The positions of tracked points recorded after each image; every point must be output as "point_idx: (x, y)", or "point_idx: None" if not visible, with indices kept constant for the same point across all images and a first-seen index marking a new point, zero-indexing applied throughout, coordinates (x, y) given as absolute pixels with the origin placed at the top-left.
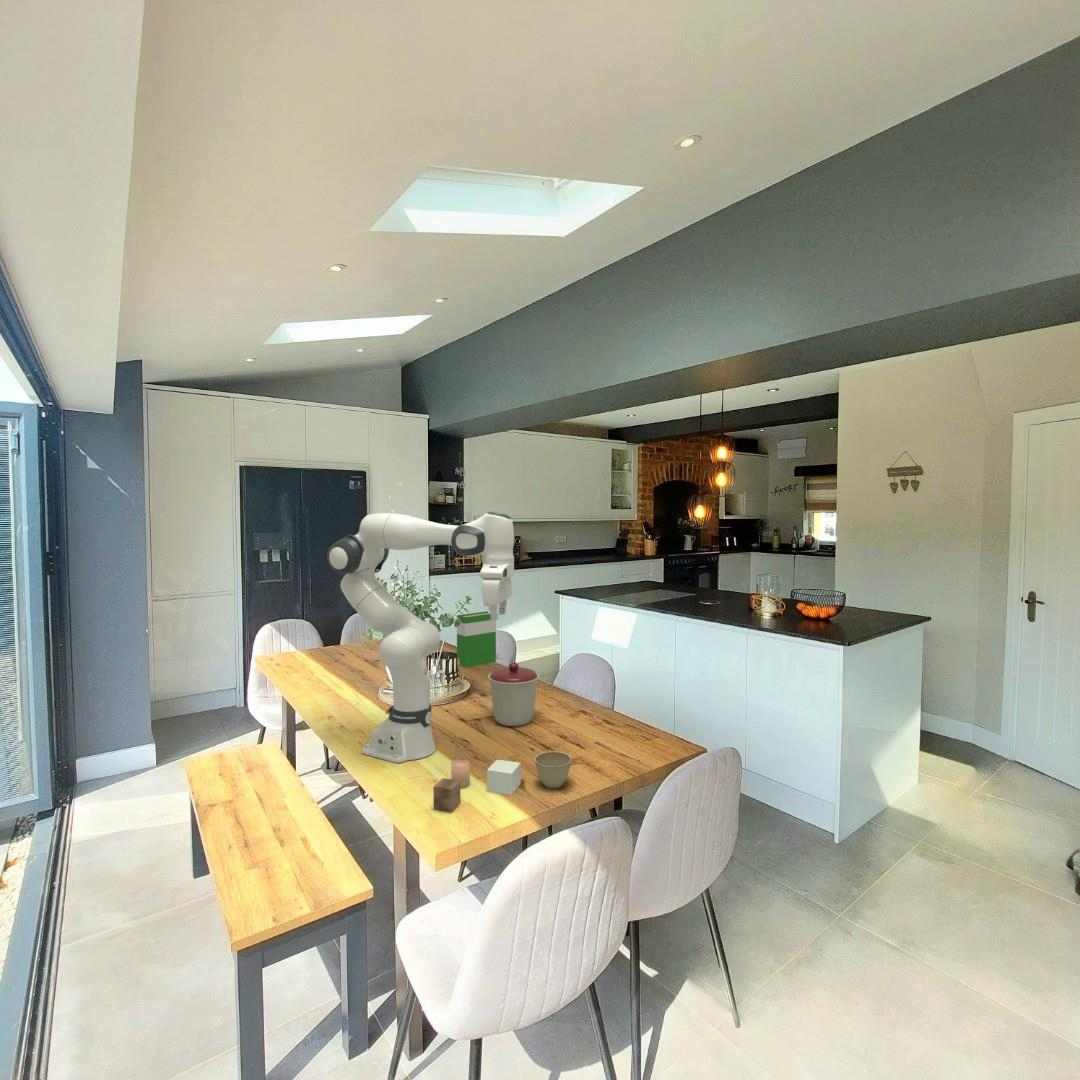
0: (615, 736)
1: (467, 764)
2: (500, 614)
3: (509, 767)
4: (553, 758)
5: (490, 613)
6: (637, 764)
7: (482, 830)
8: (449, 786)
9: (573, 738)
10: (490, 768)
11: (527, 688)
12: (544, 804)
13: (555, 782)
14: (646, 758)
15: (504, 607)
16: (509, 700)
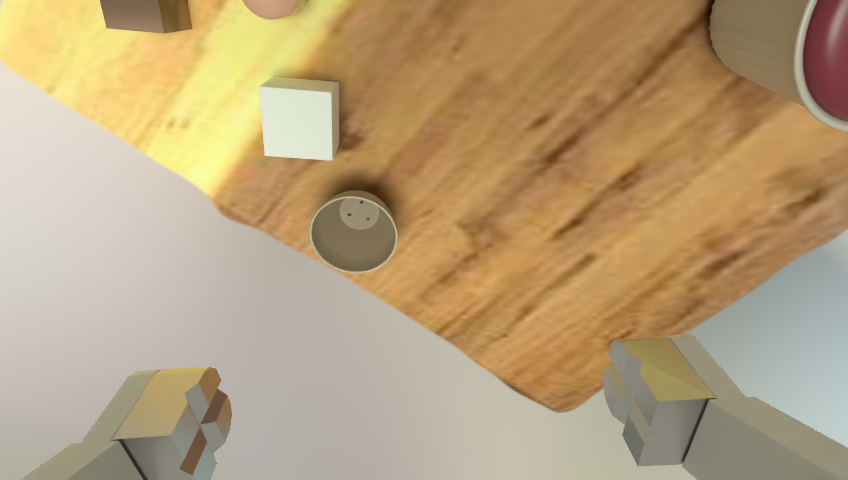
0: (627, 288)
1: (266, 15)
2: (609, 351)
3: (295, 140)
4: (392, 223)
5: (56, 457)
6: (485, 335)
7: (114, 122)
8: (117, 14)
9: (615, 206)
10: (271, 92)
11: (792, 93)
12: (268, 212)
13: (331, 227)
14: (515, 346)
15: (699, 467)
16: (758, 16)
